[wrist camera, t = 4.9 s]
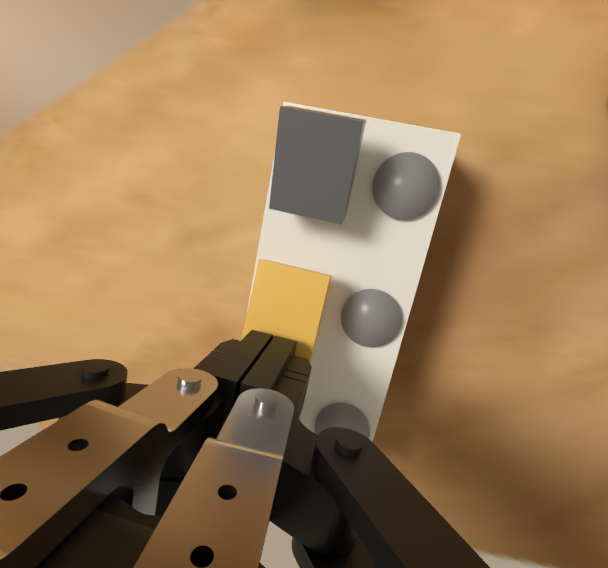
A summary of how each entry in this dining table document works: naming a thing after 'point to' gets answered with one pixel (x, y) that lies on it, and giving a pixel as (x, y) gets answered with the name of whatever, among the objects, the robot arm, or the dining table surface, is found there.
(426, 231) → the white switch panel
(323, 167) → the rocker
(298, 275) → the rocker middle
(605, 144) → the dining table surface
